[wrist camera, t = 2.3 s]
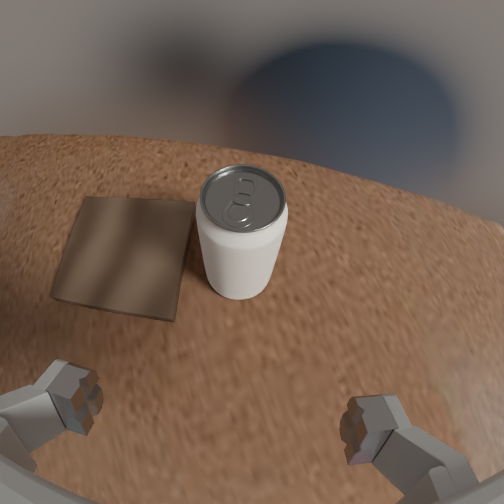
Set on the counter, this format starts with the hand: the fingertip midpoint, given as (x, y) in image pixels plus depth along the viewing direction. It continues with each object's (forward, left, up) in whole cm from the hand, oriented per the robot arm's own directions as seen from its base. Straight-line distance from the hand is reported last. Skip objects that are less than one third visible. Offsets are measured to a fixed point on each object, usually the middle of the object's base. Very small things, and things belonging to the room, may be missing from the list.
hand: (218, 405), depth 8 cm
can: (0, +12, -18) cm, 22 cm away
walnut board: (-13, +13, -18) cm, 25 cm away
